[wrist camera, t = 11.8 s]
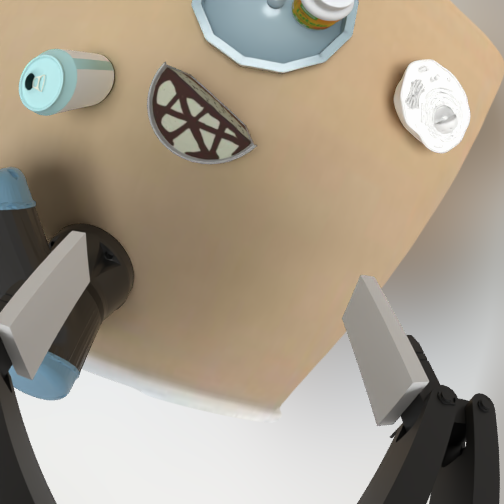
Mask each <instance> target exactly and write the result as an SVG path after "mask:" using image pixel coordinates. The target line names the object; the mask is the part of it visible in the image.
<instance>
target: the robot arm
mask: <svg viewBox="0 0 504 504" xmlns="http://www.w3.org/2000/svg"><path fill="white" fill-rule="evenodd" d="M35 206H36V202H35V201H34V200H33V199H32V196H31V193H30V191H29V188H28V185H27V182H26V179H25V176H24V174H23V173H22V172H21V171H20V170H19V169H17V168H15V167H6V168H2V169H0V504H56V502H55V500H54V498H53V496H52V494H51V492H50V489H49V487H48V485H47V483H46V481H45V478H44V476H43V474H42V472H41V469H40V467H39V464H38V462H37V460H36V457H35V454H34V452H33V449H32V446H31V443H30V441H29V438H28V435H27V432H26V429H25V426H24V423H23V420H22V417H21V413H20V410H19V406H18V403H17V399H16V395H15V391H14V387H15V388H16V389H18V390H20V391H22V392H24V393H26V394H28V395H31V396H33V397H36V398H40V399H44V400H58V399H61V398H64V397H65V396H66V395H67V394H68V393H69V392H70V390H71V388H72V386H73V384H74V382H75V380H76V379H77V378H78V377H79V375H80V371H81V369H82V366H83V364H84V362H85V359H86V357H87V355H88V352H89V350H90V348H91V345H92V343H93V341H94V339H95V336H96V334H97V332H98V330H99V327H100V325H101V323H102V321H103V320H105V319H106V318H107V317H108V316H109V315H111V314H112V313H113V312H114V311H115V310H117V309H118V308H120V307H121V306H122V305H123V303H124V302H125V301H126V299H127V297H128V295H129V293H130V291H131V288H132V285H133V269H132V265H131V262H130V259H129V257H128V255H127V253H126V252H125V250H124V249H123V247H122V246H121V245H120V244H119V243H118V241H116V240H115V239H114V238H113V237H112V236H111V235H110V234H108V233H107V232H105V231H103V230H102V229H100V228H97V227H95V226H91V225H87V224H73V225H70V226H67V227H65V228H63V229H62V230H60V231H59V232H58V233H57V234H56V235H55V236H54V237H53V238H52V239H51V241H50V242H49V244H48V243H47V240H46V237H45V234H44V232H43V229H42V226H41V223H40V220H39V217H38V214H37V211H36V208H35ZM342 320H343V322H344V325H345V328H346V331H347V334H348V337H349V339H350V342H351V345H352V348H353V351H354V354H355V357H356V360H357V363H358V365H359V369H360V372H361V375H362V378H363V381H364V385H365V388H366V391H367V394H368V397H369V400H370V404H371V407H372V410H373V413H374V416H375V420H376V423H377V426H381V425H391V424H394V423H395V422H396V420H397V419H398V418H399V417H400V416H401V418H402V421H403V423H402V424H401V426H400V427H399V428H398V429H397V430H396V431H395V432H394V433H393V434H392V435H391V436H390V438H393V437H394V436H395V437H394V439H393V441H392V443H391V445H390V447H389V449H388V451H387V453H386V455H385V457H384V458H383V460H382V462H381V464H380V466H379V468H378V470H377V471H376V473H375V475H374V477H373V478H372V480H371V482H370V484H369V485H368V487H367V488H366V490H365V492H364V494H363V495H362V497H361V498H360V500H359V501H358V503H357V504H426V503H427V500H428V498H429V496H430V493H431V496H430V502H429V504H499V490H500V489H499V488H500V477H499V476H500V474H499V473H500V472H499V447H498V434H497V424H496V414H495V408H494V404H493V403H492V401H491V400H490V398H488V397H487V396H486V395H484V394H480V393H479V394H475V395H474V396H473V397H472V399H471V400H470V401H467V400H463V399H458V398H457V396H456V394H455V393H454V391H453V390H451V389H450V388H449V387H447V386H444V385H440V384H439V381H438V379H437V377H436V375H435V373H434V371H433V369H432V367H431V365H430V363H429V361H427V358H426V356H425V354H423V350H422V348H421V346H420V344H419V343H418V342H417V341H416V340H415V339H414V338H413V336H412V335H406V334H405V332H404V330H403V328H402V326H401V324H400V322H399V320H398V318H397V317H396V315H395V313H394V311H393V309H392V307H391V306H390V304H389V302H388V300H387V298H386V297H385V295H384V293H383V291H382V289H381V288H380V286H379V284H378V282H377V281H376V279H375V277H373V276H366V275H360V278H359V280H358V282H357V285H356V287H355V290H354V292H353V294H352V297H351V299H350V301H349V304H348V306H347V308H346V311H345V313H344V315H343V317H342ZM465 442H466V447H465Z"/></svg>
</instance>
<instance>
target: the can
mask: <svg viewBox="0 0 504 504" xmlns="http://www.w3.org/2000/svg"><path fill="white" fill-rule="evenodd" d="M113 82H114V70H113V67H112V64H111V63H110V61H109V60H108V59H107V58H106V57H105V56H103V55H100V54H96V53H89V52H81V51H72V50H63V49H51V50H48V51H45V52H43V53H41V54H40V55H39V56H37V57H35V58H34V59H32V60H31V61H30V62H29V63H28V64H27V66H26V67H25V69H24V70H23V72H22V75H21V78H20V82H19V94H20V98H21V101H22V103H23V104H24V105H25V107H27V108H28V109H29V110H31V111H33V112H35V113H37V114H39V115H45V116H47V115H53V114H57V113H61V112H65V111H69V110H74V109H78V108H83V107H88V106H93V105H95V104H98V103H99V102H101V101H102V100H103V99H104V98H105V97H106V96H107V95H108V94H109V92H110V90H111V88H112V85H113Z"/></svg>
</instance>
